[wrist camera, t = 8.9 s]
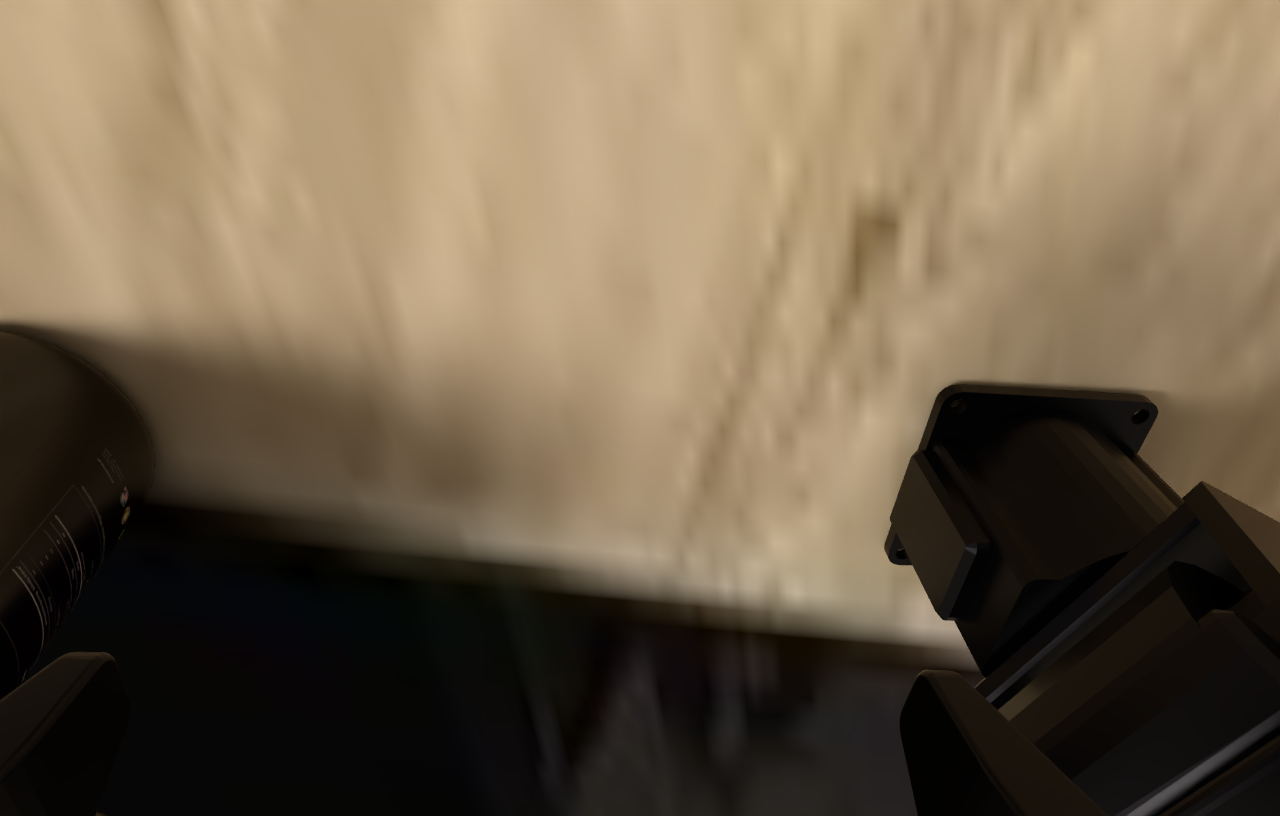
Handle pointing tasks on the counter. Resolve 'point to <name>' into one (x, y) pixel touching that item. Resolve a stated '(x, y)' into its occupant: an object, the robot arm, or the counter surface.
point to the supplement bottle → (59, 490)
